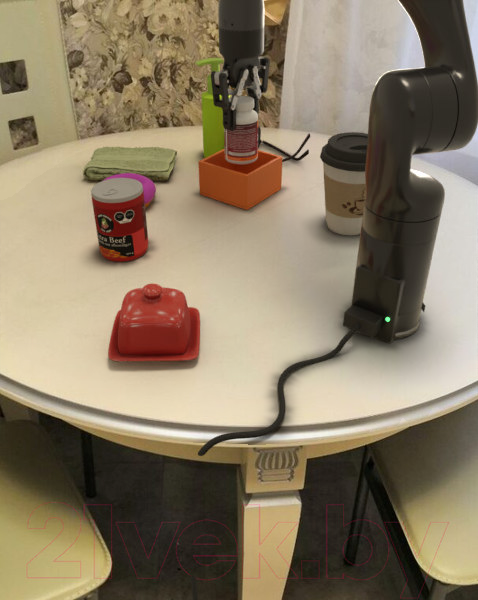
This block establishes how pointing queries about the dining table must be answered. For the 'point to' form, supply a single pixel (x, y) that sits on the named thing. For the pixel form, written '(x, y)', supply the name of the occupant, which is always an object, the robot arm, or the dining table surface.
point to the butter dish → (155, 327)
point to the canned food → (120, 218)
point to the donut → (147, 184)
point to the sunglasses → (284, 151)
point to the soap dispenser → (211, 114)
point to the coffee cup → (345, 181)
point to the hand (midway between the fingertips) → (241, 123)
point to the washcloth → (131, 162)
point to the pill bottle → (242, 134)
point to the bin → (240, 179)
